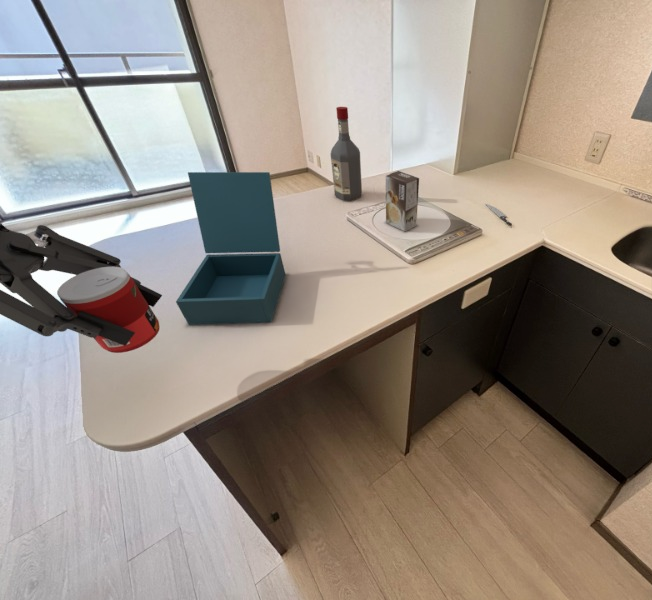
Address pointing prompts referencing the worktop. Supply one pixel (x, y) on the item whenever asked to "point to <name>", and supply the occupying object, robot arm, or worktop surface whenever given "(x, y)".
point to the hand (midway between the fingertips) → (144, 318)
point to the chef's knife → (499, 214)
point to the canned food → (111, 304)
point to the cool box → (233, 289)
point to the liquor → (346, 162)
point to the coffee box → (401, 200)
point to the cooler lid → (235, 211)
